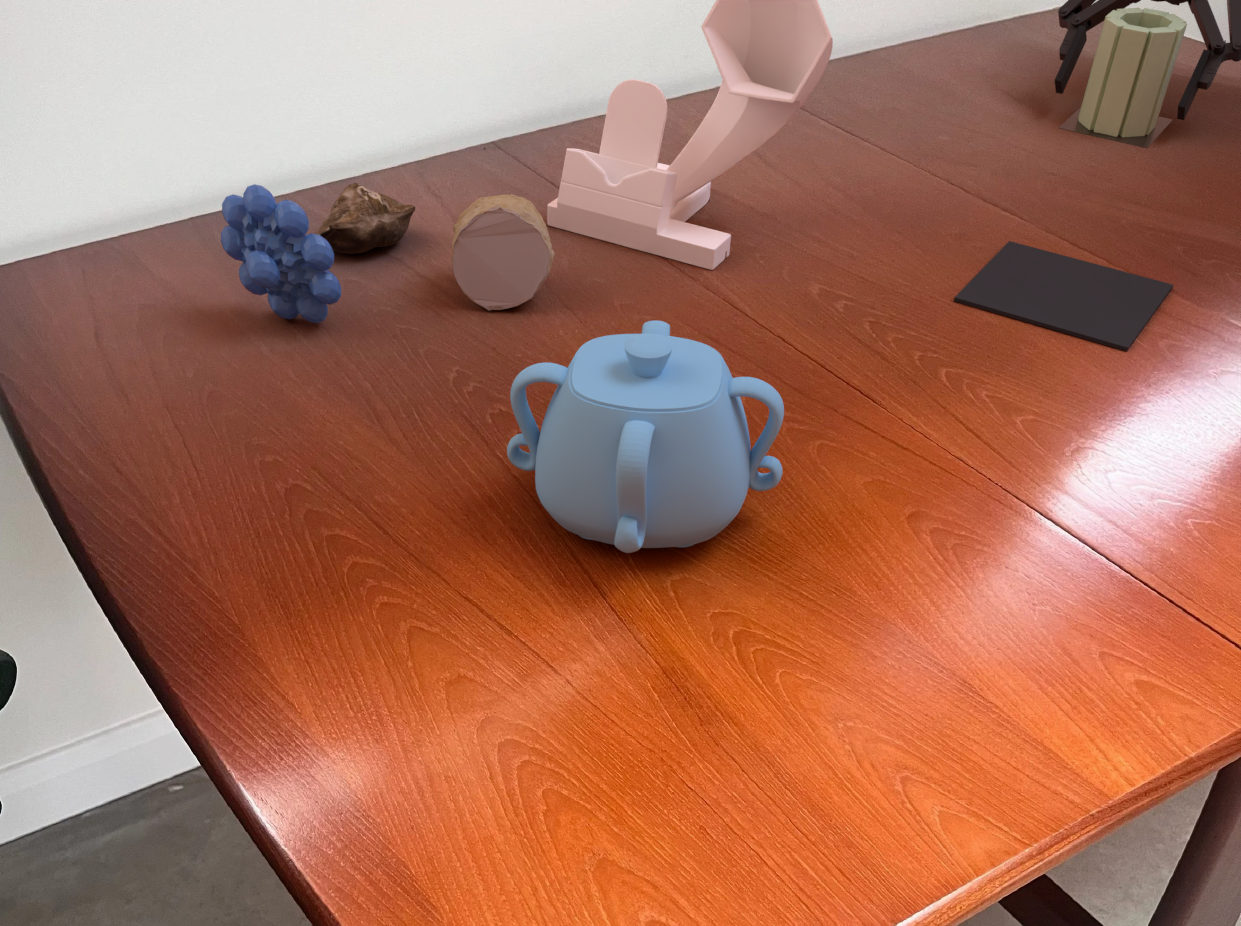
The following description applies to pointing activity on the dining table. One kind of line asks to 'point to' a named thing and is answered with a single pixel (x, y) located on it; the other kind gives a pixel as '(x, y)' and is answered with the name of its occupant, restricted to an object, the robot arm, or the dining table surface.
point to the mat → (1066, 295)
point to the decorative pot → (645, 440)
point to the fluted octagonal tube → (1131, 71)
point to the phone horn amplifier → (732, 129)
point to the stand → (1140, 141)
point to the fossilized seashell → (364, 221)
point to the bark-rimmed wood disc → (501, 251)
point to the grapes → (280, 254)
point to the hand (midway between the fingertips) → (1118, 100)
